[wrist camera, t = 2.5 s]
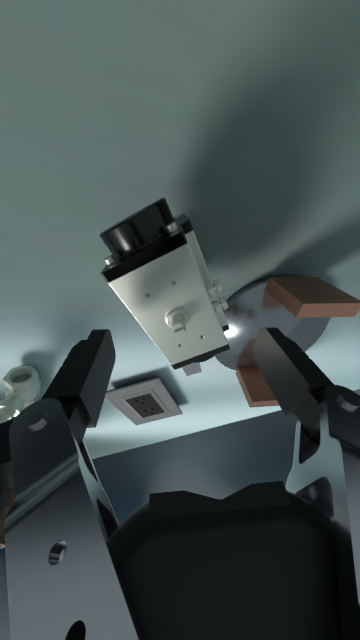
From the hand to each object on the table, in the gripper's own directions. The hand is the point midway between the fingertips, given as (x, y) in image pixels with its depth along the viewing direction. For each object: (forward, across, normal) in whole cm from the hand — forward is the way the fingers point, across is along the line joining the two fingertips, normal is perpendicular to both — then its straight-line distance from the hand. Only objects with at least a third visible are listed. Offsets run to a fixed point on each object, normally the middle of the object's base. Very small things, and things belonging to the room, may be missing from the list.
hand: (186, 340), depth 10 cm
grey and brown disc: (+13, -14, +9) cm, 21 cm away
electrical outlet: (+14, +5, +27) cm, 30 cm away
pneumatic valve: (+13, 0, 0) cm, 13 cm away
